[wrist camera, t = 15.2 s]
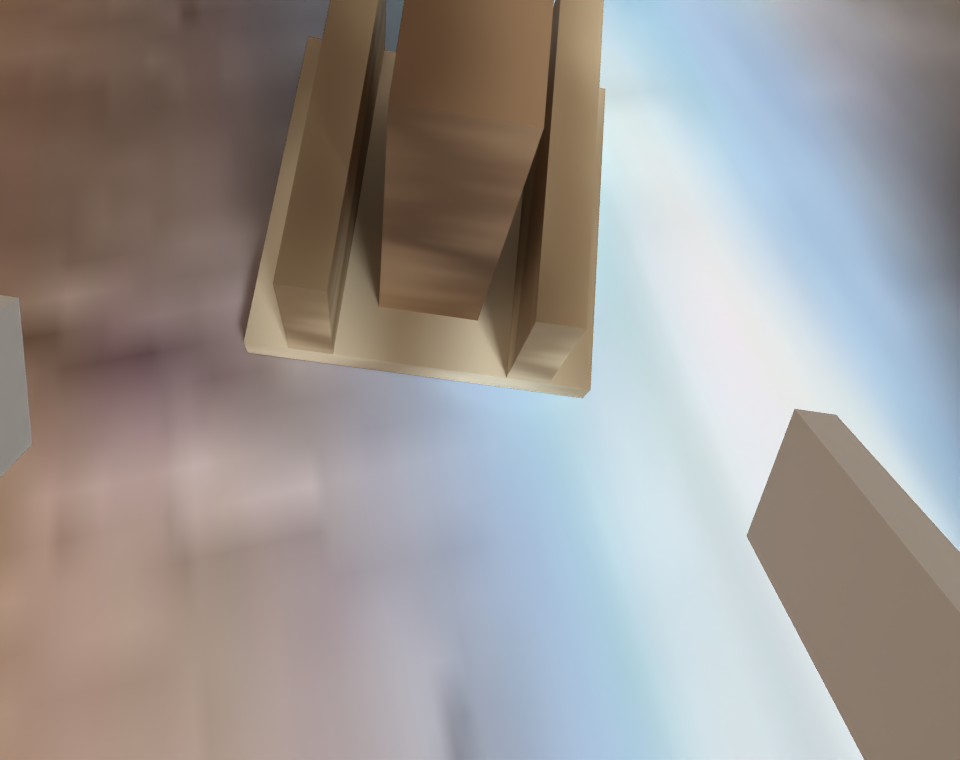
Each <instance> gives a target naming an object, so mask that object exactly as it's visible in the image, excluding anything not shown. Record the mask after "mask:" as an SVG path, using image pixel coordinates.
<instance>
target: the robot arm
mask: <svg viewBox="0 0 960 760" xmlns="http://www.w3.org/2000/svg"><path fill="white" fill-rule="evenodd" d="M31 445H32V436H31V425H30V414H29V403H28V392H27V381H26V370H25V359H24V348H23V337H22V326H21V314H20V303H19V298H17V297H10V296H3V295H0V477H1V476H2V475H3V474H4V473H5V472H6V471H7V469H8V468H9V467H10V466H11V465H12V464H13V463H14V462H15V461H16V460H17V459H18V458H19V457H20V456H21V455H22V454H23V453H24V452H25V451H26V450H27V449H28V448H29V447H30V446H31ZM747 538H748V540H749V541H750V543H751V545H752V547H753V549H754V551H755V553H756V555H757V557H758V559H759V560H760V562H761V564H762V566H763V568H764V570H765V572H766V574H767V576H768V578H769V579H770V581H771V583H772V585H773V587H774V589H775V591H776V593H777V595H778V597H779V598H780V600H781V602H782V604H783V606H784V608H785V610H786V612H787V614H788V616H789V617H790V619H791V621H792V623H793V625H794V627H795V629H796V631H797V633H798V635H799V636H800V638H801V640H802V642H803V644H804V646H805V648H806V650H807V652H808V653H809V655H810V657H811V659H812V661H813V663H814V665H815V667H816V669H817V671H818V672H819V674H820V676H821V678H822V680H823V682H824V684H825V686H826V688H827V690H828V691H829V693H830V695H831V697H832V699H833V701H834V703H835V705H836V707H837V709H838V710H839V712H840V714H841V716H842V718H843V720H844V722H845V724H846V726H847V728H848V729H849V731H850V733H851V735H852V737H853V739H854V741H855V743H856V745H857V747H858V748H859V750H860V752H861V754H862V756H863V758H864V760H960V552H959V551H958V550H957V549H956V548H955V547H954V546H953V544H952V543H951V542H950V541H949V540H948V539H947V538H946V537H945V536H944V534H943V533H942V532H941V531H940V530H939V529H938V528H937V527H936V526H935V524H934V523H933V522H932V521H931V520H930V519H929V518H928V517H927V516H926V514H925V513H924V512H923V511H922V510H921V509H920V508H919V507H918V505H917V504H916V503H915V502H914V501H913V500H912V499H911V498H910V497H909V495H908V494H907V493H906V492H905V491H904V490H903V489H902V488H901V487H900V485H899V484H898V483H897V482H896V481H895V480H894V479H893V478H892V477H891V475H890V474H889V473H888V472H887V471H886V470H885V469H884V468H883V467H882V465H881V464H880V463H879V462H878V461H877V460H876V459H875V458H874V457H873V455H872V454H871V453H870V452H869V451H868V450H867V449H866V448H865V446H864V445H863V444H862V443H861V442H860V441H859V440H858V439H857V438H856V436H855V435H854V434H853V433H852V432H851V431H850V430H849V429H848V428H847V426H846V425H845V424H844V423H843V422H842V421H841V420H840V419H839V418H838V416H837V415H833V414H826V413H819V412H812V411H805V410H798V409H795V410H794V412H793V415H792V418H791V420H790V423H789V425H788V428H787V431H786V433H785V436H784V439H783V441H782V444H781V447H780V449H779V452H778V455H777V457H776V460H775V462H774V465H773V468H772V470H771V473H770V476H769V478H768V481H767V484H766V486H765V489H764V492H763V494H762V497H761V499H760V502H759V505H758V507H757V510H756V513H755V515H754V518H753V521H752V523H751V526H750V529H749V531H748V534H747Z"/></svg>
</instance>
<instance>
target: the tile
mask: <svg viewBox="0 0 960 760" xmlns="http://www.w3.org/2000/svg"><path fill="white" fill-rule="evenodd" d="M553 5H554V0H404V6H403V12H402V19H401V25H400V31H399V37H398V44H397V50H396V56H395V63H394V69H393V75H392V81H391V88H390V94H389V100H388V118H387V141H386V163H385V186H384V208H383V231H382V253H381V276H380V298H379V307H385V308H392V309H399V310H406V311H413V312H420V313H427V314H435V315H442V316H449V317H456V318H463V319H470V320H477V321H478V318H479V315H480V312H481V309H482V307H483V304H484V301H485V298H486V295H487V292H488V289H489V286H490V283H491V280H492V277H493V275H494V272H495V269H496V266H497V263H498V260H499V257H500V254H501V251H502V248H503V246H504V243H505V240H506V237H507V234H508V231H509V228H510V225H511V222H512V219H513V216H514V214H515V211H516V208H517V205H518V202H519V199H520V196H521V193H522V190H523V187H524V184H525V182H526V179H527V176H528V173H529V170H530V167H531V164H532V161H533V158H534V155H535V152H536V150H537V147H538V144H539V141H540V138H541V135H542V132H543V129H544V121H545V108H546V95H547V82H548V69H549V56H550V43H551V31H552V18H553Z"/></svg>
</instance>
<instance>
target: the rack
mask: <svg viewBox="0 0 960 760" xmlns="http://www.w3.org/2000/svg"><path fill="white" fill-rule="evenodd" d="M603 6H604V0H555V3H554V7H553V18H552V31H551V43H550V56H549V69H548V82H547V95H546V108H545V121H544V129H543V132H542V135H541V138H540V141H539V144H538V147H537V150H536V152H535V155H534V158H533V161H532V164H531V167H530V170H529V173H528V176H527V179H526V182H525V184H524V187H523V190H522V193H521V196H520V199H519V202H518V205H517V208H516V211H515V214H514V216H513V219H512V222H511V225H510V228H509V231H508V234H507V237H506V240H505V243H504V246H503V248H502V251H501V254H500V257H499V260H498V263H497V266H496V269H495V272H494V275H493V277H492V280H491V283H490V286H489V289H488V292H487V295H486V298H485V301H484V304H483V307H482V309H481V312H480V315H479V318H478V321H477V320H470V319H463V318H456V317H449V316H442V315H435V314H427V313H420V312H413V311H406V310H399V309H392V308H385V307H379V298H380V276H381V253H382V231H383V208H384V186H385V163H386V141H387V118H388V100H389V94H390V88H391V81H392V75H393V69H394V63H395V56H396V52H393V51H388V50H385V24H386V0H330V4H329V9H328V14H327V19H326V24H325V29H324V34H323V39H319V38H314V37H308V40H307V45H306V49H305V54H304V59H303V64H302V68H301V73H300V78H299V82H298V87H297V92H296V97H295V101H294V106H293V111H292V116H291V120H290V125H289V130H288V134H287V139H286V144H285V149H284V153H283V158H282V163H281V168H280V172H279V177H278V182H277V187H276V191H275V196H274V201H273V205H272V210H271V215H270V220H269V224H268V229H267V234H266V239H265V243H264V248H263V253H262V258H261V262H260V267H259V272H258V276H257V281H256V286H255V291H254V295H253V300H252V305H251V310H250V314H249V319H248V324H247V329H246V333H245V338H244V344H245V347H246V349H247V352H248V353H255V354H262V355H270V356H277V357H285V358H292V359H299V360H307V361H314V362H321V363H329V364H336V365H343V366H351V367H358V368H366V369H373V370H380V371H388V372H395V373H402V374H410V375H417V376H425V377H432V378H439V379H447V380H454V381H461V382H469V383H476V384H484V385H491V386H498V387H506V388H513V389H520V390H528V391H535V392H543V393H550V394H557V395H565V396H572V397H579V398H583V397H584V396H585V395H586V394H587V393H588V392H589V390H590V386H591V366H592V346H593V326H594V306H595V286H596V266H597V246H598V226H599V205H600V185H601V165H602V145H603V125H604V105H605V89H604V88H599V82H600V63H601V44H602V25H603Z"/></svg>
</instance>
